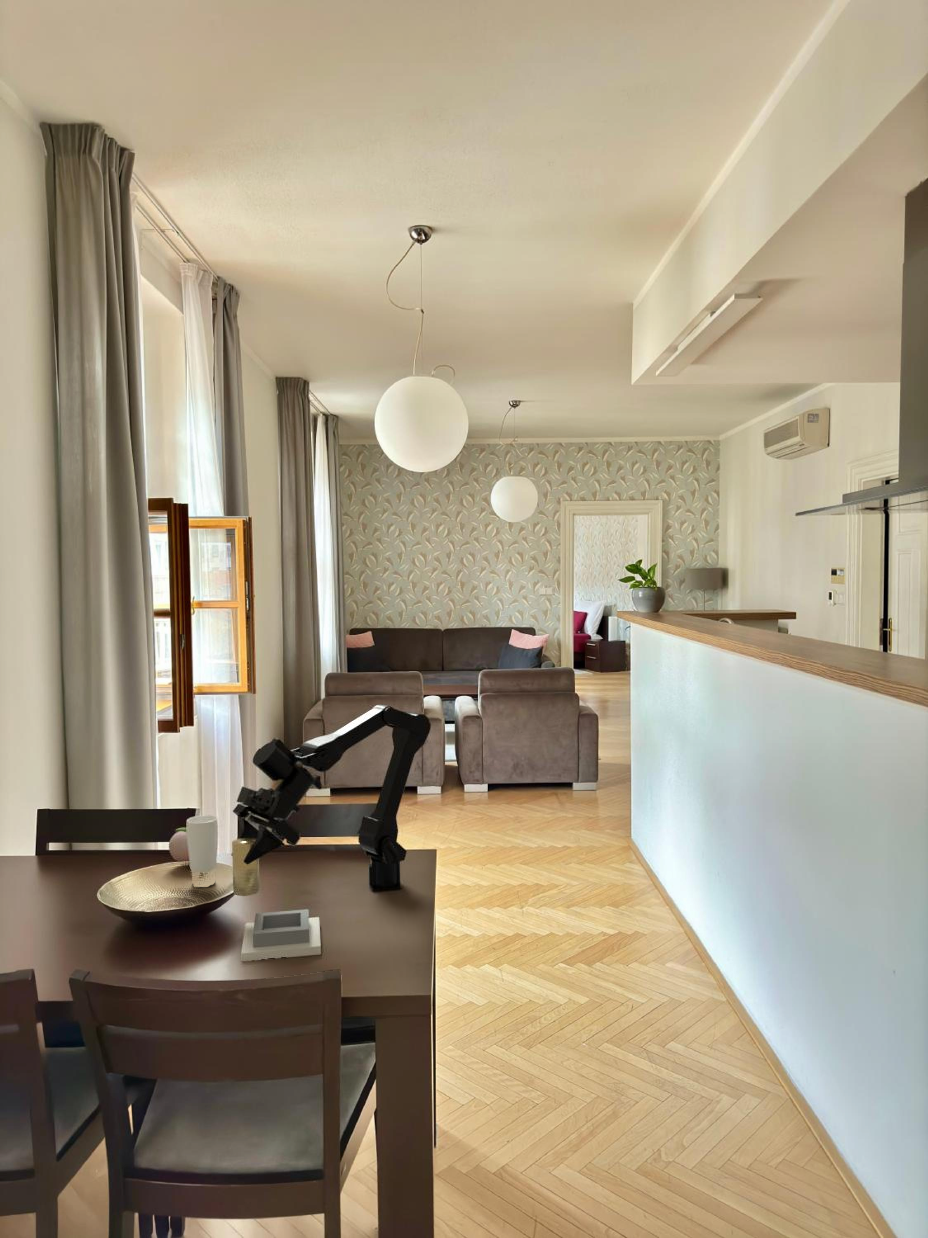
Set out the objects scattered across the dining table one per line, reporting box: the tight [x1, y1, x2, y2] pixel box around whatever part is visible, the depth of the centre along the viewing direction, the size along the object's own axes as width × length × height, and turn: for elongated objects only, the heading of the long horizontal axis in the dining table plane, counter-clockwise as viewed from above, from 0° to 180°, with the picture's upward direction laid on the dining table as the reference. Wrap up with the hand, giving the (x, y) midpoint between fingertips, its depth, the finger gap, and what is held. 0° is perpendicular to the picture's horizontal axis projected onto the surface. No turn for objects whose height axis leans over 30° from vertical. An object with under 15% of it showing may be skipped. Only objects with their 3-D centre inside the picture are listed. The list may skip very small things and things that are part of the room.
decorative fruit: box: [168, 827, 189, 862], centre depth 207 cm, size 9×8×10 cm
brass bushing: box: [231, 837, 261, 897], centre depth 170 cm, size 5×5×10 cm
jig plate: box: [240, 908, 322, 962], centre depth 162 cm, size 14×14×4 cm
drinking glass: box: [185, 814, 219, 872], centre depth 194 cm, size 7×7×15 cm
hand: (239, 860), depth 169 cm, fingers closed on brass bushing, 5 cm apart
